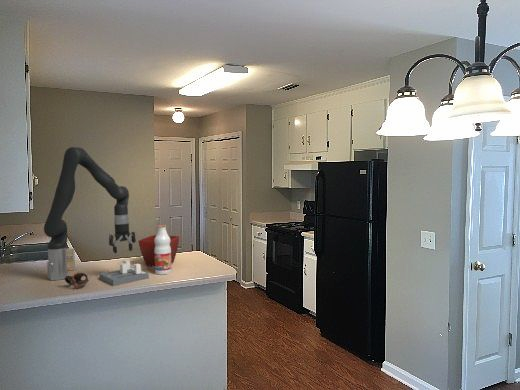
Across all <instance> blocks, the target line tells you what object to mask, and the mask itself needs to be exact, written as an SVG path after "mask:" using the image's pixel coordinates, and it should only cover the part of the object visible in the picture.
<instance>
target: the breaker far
mask: <svg viewBox="0 0 520 390" xmlns="http://www.w3.org/2000/svg"><path fill="white" fill-rule="evenodd" d="M123 263H125V264H127V270H129V269H130V268H131V260H129V259H125V260H123Z"/></svg>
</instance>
